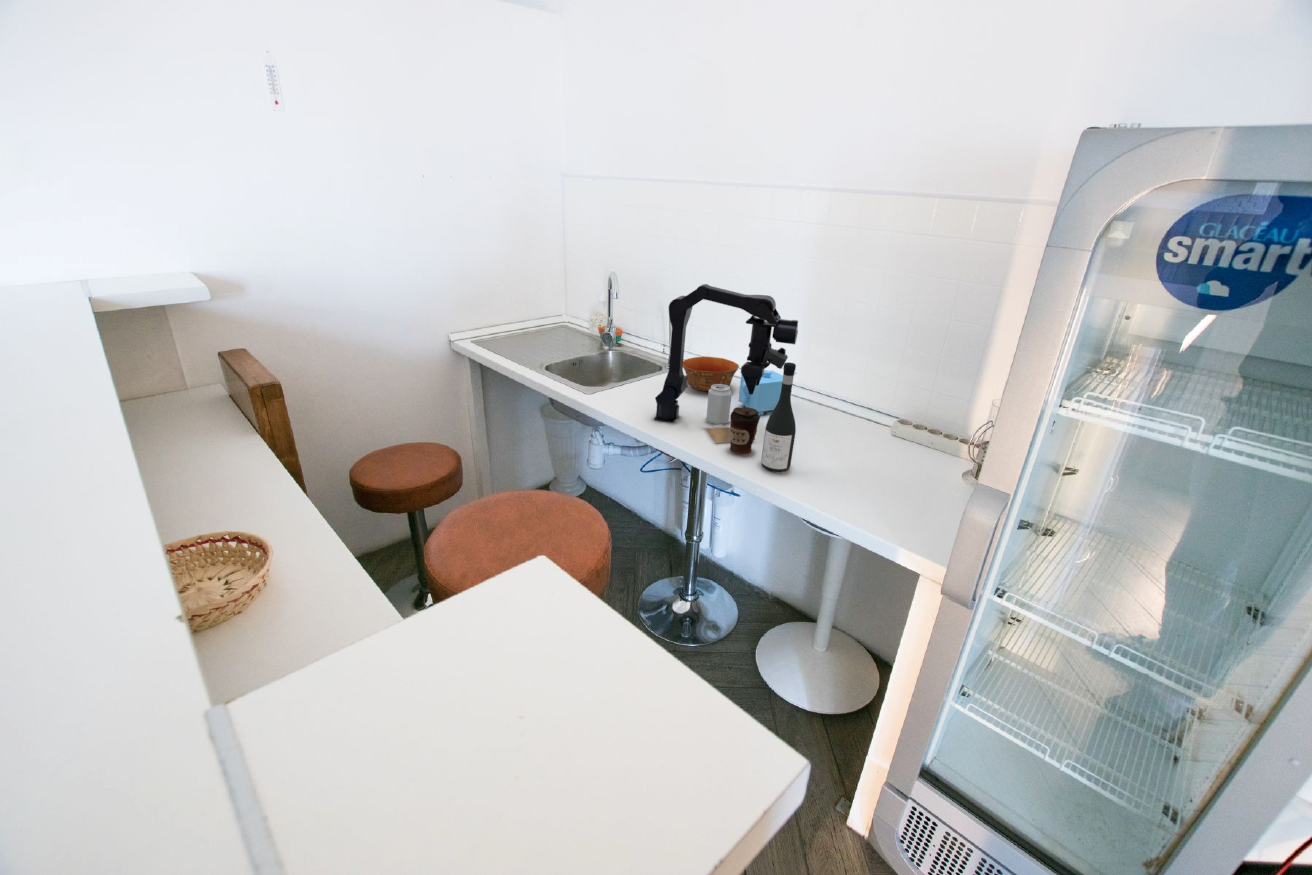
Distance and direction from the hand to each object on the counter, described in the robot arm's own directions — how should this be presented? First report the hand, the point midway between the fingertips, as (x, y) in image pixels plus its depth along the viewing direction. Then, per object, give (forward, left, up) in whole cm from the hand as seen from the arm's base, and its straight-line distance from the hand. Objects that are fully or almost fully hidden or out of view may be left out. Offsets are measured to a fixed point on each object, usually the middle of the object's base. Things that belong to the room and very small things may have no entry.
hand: (753, 389), depth 176 cm
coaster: (-5, -5, -14) cm, 16 cm away
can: (-11, +5, -15) cm, 19 cm away
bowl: (-22, +35, -15) cm, 44 cm away
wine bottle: (+12, -21, -15) cm, 28 cm away
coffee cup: (+1, -15, -15) cm, 21 cm away
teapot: (+2, +24, -15) cm, 28 cm away
